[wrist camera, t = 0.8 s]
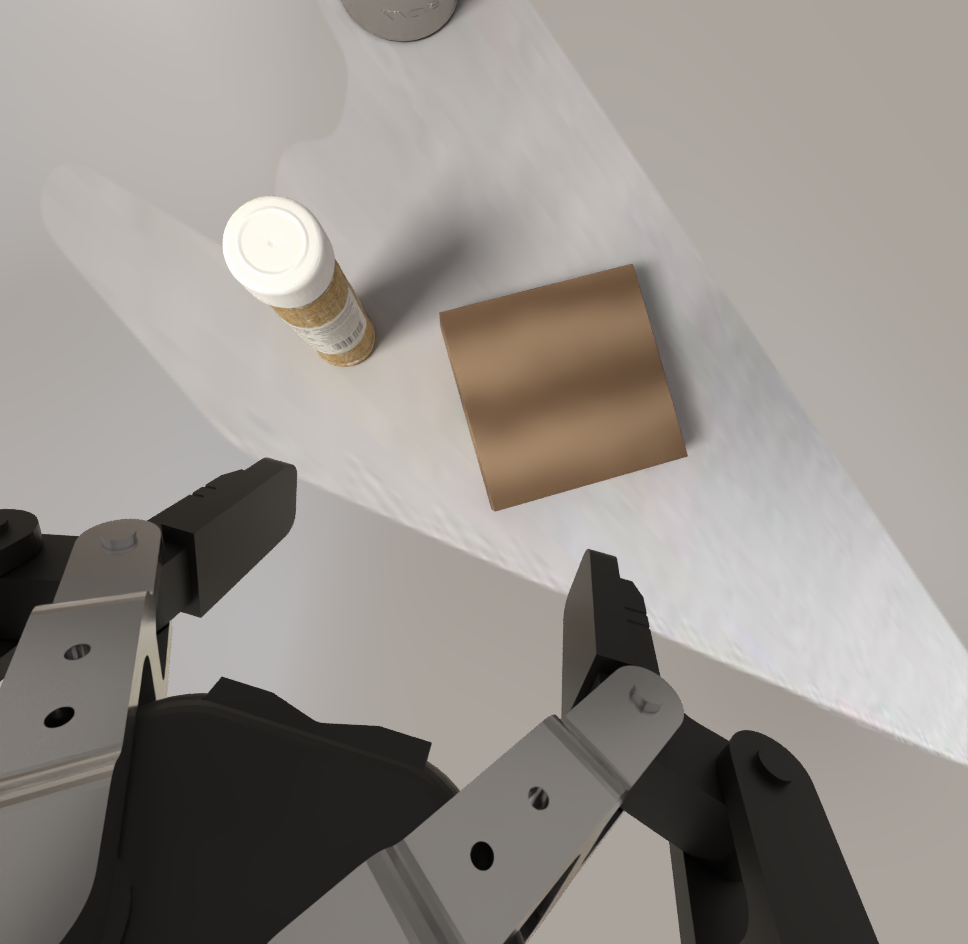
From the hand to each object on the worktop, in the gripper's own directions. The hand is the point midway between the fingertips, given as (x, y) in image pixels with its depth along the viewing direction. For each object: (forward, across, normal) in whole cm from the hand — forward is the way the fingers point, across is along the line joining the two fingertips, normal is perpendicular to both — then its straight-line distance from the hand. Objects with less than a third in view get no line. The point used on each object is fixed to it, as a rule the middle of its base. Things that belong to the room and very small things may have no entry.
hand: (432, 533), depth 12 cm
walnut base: (+24, -3, +2) cm, 24 cm away
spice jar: (+22, +13, +1) cm, 26 cm away
